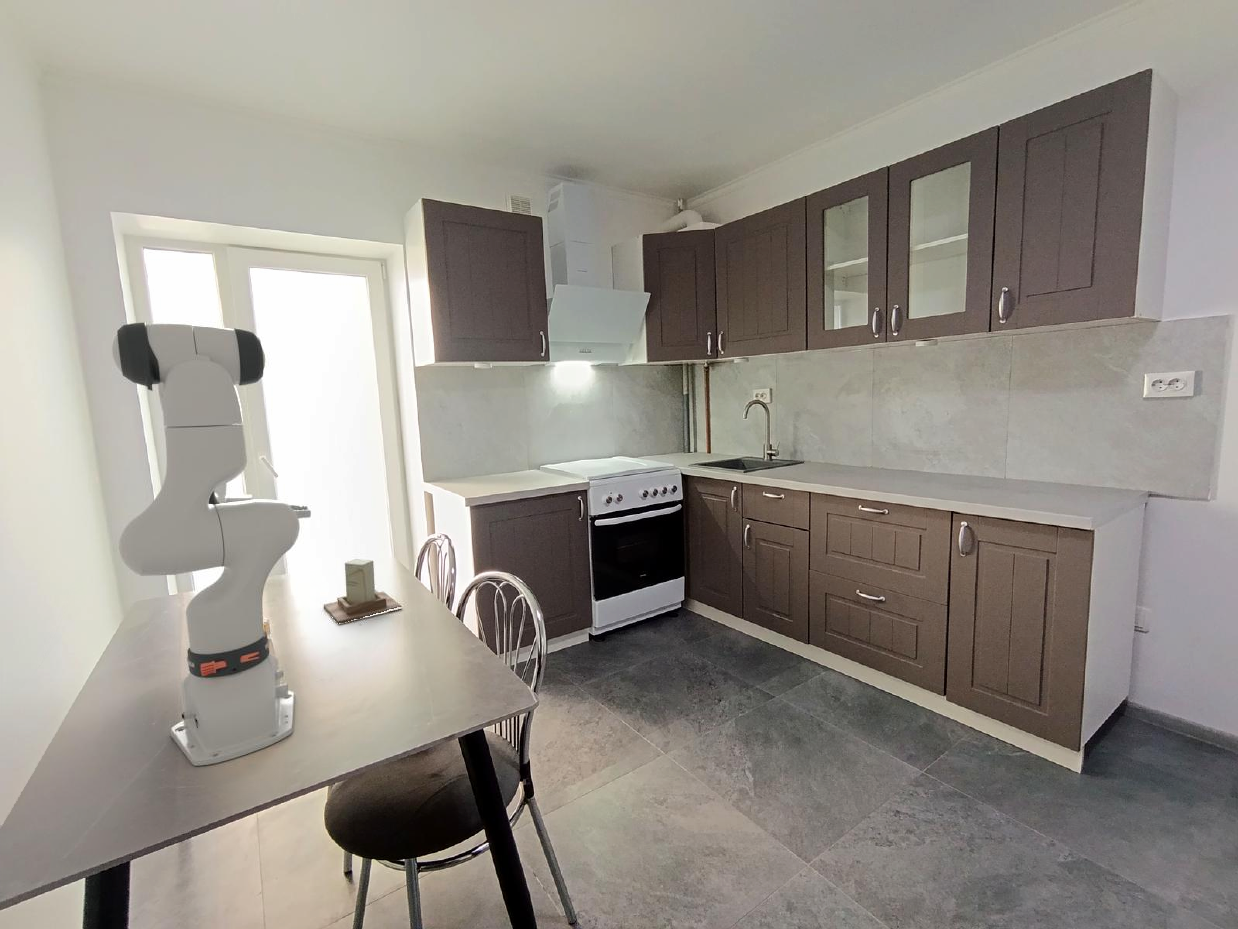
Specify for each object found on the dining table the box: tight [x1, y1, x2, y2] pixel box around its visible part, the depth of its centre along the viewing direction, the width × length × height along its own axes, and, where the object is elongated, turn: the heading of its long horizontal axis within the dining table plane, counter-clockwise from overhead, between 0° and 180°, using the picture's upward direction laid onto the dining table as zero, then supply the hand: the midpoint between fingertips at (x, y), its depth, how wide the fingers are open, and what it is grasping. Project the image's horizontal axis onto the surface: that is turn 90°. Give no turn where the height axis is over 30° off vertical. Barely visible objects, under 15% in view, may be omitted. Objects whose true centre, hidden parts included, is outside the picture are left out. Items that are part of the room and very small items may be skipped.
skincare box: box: [344, 558, 376, 605], centre depth 156 cm, size 6×4×12 cm
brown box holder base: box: [323, 589, 402, 625], centre depth 157 cm, size 16×16×3 cm
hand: (308, 511), depth 145 cm, fingers open, 8 cm apart
